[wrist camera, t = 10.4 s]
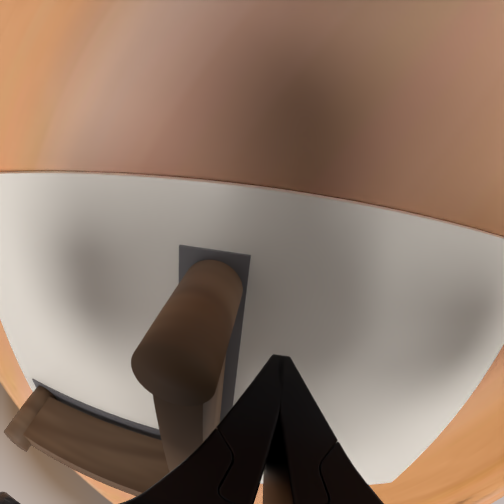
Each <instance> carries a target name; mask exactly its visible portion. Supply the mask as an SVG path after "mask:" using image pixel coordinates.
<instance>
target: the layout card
mask: <svg viewBox="0 0 504 504" xmlns="http://www.w3.org/2000/svg"><path fill="white" fill-rule="evenodd" d="M203 260H217V261H220V262H223V263H225V264H227V265H229V266H230V267H231V268H232V269H234V270H235V272H236V273H237V274H238V276H239V277H240V279H241V282H242V287H243V293H242V297H241V301H240V304H239V308H238V312H237V315H236V319H235V323H234V326H233V330H232V334H231V337H230V341H229V344H228V348H227V352H226V360H225V371H224V381H223V392H222V403H221V414H220V422H221V421H222V419H223V418H224V417H225V416H226V414H227V413H228V412H229V411H230V409H231V408H232V407H233V406H234V404H235V403H236V402H237V401H238V399H239V398H240V397H241V395H242V394H243V393H244V392H245V390H246V389H247V388H248V386H249V385H250V384H251V382H252V381H253V380H254V378H255V377H256V376H257V374H258V373H259V372H260V370H261V369H262V368H263V366H264V365H265V364H266V362H267V361H268V360H269V358H270V357H271V356H272V355H273V354H276V355H284V356H289V357H291V359H292V361H293V362H294V364H295V366H296V368H297V370H298V371H299V373H300V375H301V377H302V378H303V380H304V382H305V384H306V385H307V387H308V389H309V391H310V392H311V394H312V396H313V398H314V400H315V401H316V403H317V405H318V406H319V408H320V410H321V412H322V413H323V415H324V417H325V419H326V420H327V422H328V424H329V426H330V427H331V429H332V431H333V433H334V434H335V436H336V438H337V439H338V441H337V442H339V443H340V444H341V446H342V448H343V450H344V451H345V453H346V454H347V456H348V458H349V459H350V461H351V462H352V464H353V465H354V467H355V468H356V470H357V471H358V472H359V474H360V475H361V476H362V478H363V479H364V480H365V481H366V483H367V484H368V485H372V484H382V483H390V482H392V481H393V480H395V479H396V478H397V477H398V476H399V475H400V474H401V473H402V472H403V471H404V470H406V469H407V468H408V467H409V466H410V465H411V464H412V463H413V462H414V461H415V460H416V459H417V458H418V457H419V456H420V455H421V454H422V453H423V452H424V451H425V450H426V449H427V448H428V446H429V445H430V444H431V443H432V442H433V441H434V440H435V439H436V438H437V437H438V436H439V434H440V433H441V432H442V431H443V430H444V429H445V427H446V426H447V425H448V424H449V423H450V422H451V420H452V419H453V418H454V417H455V415H456V414H457V413H458V412H459V410H460V409H461V408H462V406H463V405H464V404H465V403H466V401H467V400H468V398H469V397H470V396H471V394H472V393H473V392H474V390H475V389H476V387H477V386H478V384H479V383H480V382H481V380H482V379H483V377H484V376H485V374H486V372H487V371H488V369H489V368H490V366H491V365H492V363H493V361H494V360H495V358H496V356H497V355H498V353H499V351H500V350H501V348H502V346H503V344H504V237H503V236H500V235H496V234H493V233H489V232H486V231H482V230H479V229H475V228H471V227H468V226H464V225H460V224H456V223H452V222H448V221H444V220H440V219H436V218H432V217H427V216H423V215H419V214H414V213H410V212H405V211H401V210H396V209H392V208H387V207H382V206H377V205H372V204H367V203H362V202H356V201H351V200H346V199H340V198H334V197H329V196H323V195H317V194H310V193H304V192H298V191H291V190H284V189H277V188H270V187H263V186H255V185H247V184H239V183H231V182H222V181H213V180H203V179H193V178H182V177H170V176H157V175H143V174H126V173H106V172H74V171H17V172H0V319H1V322H2V325H3V327H4V330H5V333H6V335H7V338H8V340H9V343H10V345H11V347H12V350H13V352H14V354H15V357H16V359H17V361H18V363H19V365H20V367H21V370H22V372H23V374H24V376H25V378H26V380H27V382H28V384H29V386H30V387H31V389H32V391H33V392H34V390H35V389H36V388H37V387H38V386H42V387H44V388H46V389H47V390H49V391H50V392H51V393H52V394H53V395H54V396H55V398H56V399H57V400H58V401H60V402H62V403H64V404H66V405H68V406H70V407H72V408H75V409H77V410H79V411H81V412H84V413H86V414H88V415H91V416H93V417H95V418H98V419H100V420H103V421H105V422H108V423H111V424H113V425H116V426H119V427H121V428H124V429H127V430H130V431H133V432H136V433H139V434H142V435H145V436H149V437H152V438H155V439H159V440H161V436H160V431H159V426H158V421H157V416H156V411H155V406H154V400H153V394H151V393H150V392H149V391H147V390H146V389H145V388H144V387H143V386H142V385H141V384H140V383H139V381H138V380H137V379H136V377H135V375H134V373H133V371H132V368H131V358H132V355H133V353H134V351H135V350H136V348H137V347H138V345H139V344H140V342H141V340H142V339H143V337H144V336H145V334H146V333H147V331H148V330H149V328H150V326H151V325H152V323H153V322H154V320H155V319H156V317H157V316H158V314H159V313H160V311H161V310H162V308H163V307H164V305H165V304H166V302H167V301H168V299H169V298H170V296H171V295H172V293H173V292H174V290H175V289H176V287H177V286H178V284H179V283H180V281H181V280H182V278H183V277H184V275H185V274H186V272H187V271H188V270H189V268H190V267H191V266H192V265H194V264H195V263H197V262H199V261H203ZM260 483H261V484H263V475H262V478H261V482H260Z"/></svg>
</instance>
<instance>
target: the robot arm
mask: <svg viewBox="0 0 504 504" xmlns="http://www.w3.org/2000/svg"><path fill="white" fill-rule="evenodd" d="M337 441H338V439H337V438H336V436H335V434H334V433H333V431H332V429H331V427H330V426H329V424H328V422H327V420H326V419H325V417H324V415H323V413H322V412H321V410H320V408H319V406H318V405H317V403H316V401H315V400H314V398H313V396H312V394H311V392H310V391H309V389H308V387H307V385H306V384H305V382H304V380H303V378H302V377H301V375H300V373H299V371H298V370H297V368H296V366H295V364H294V362H293V361H292V359H291V357H289V356H284V355H276V354H273V355H272V356H271V357H270V358H269V360H268V361H267V362H266V364H265V365H264V366H263V368H262V369H261V370H260V372H259V373H258V374H257V376H256V377H255V378H254V380H253V381H252V382H251V384H250V385H249V386H248V388H247V389H246V390H245V392H244V393H243V394H242V395H241V397H240V398H239V399H238V401H237V402H236V403H235V404H234V406H233V407H232V408H231V409H230V411H229V412H228V413H227V414H226V416H225V417H224V418H223V419H222V421H221V422H220V423H219V424H218V426H217V427H216V428H215V429H214V430H213V431H212V433H211V434H210V435H209V436H208V437H207V438H206V440H205V441H204V442H203V443H202V444H201V445H200V446H199V447H198V448H197V449H196V450H195V451H194V452H193V453H192V454H191V455H190V456H189V457H188V458H186V459H185V460H184V461H183V462H182V463H181V464H180V465H178V466H177V467H176V468H175V469H173V470H172V471H171V472H170V473H168V474H167V475H166V476H165V477H163V478H162V479H161V480H159V481H158V482H157V483H155V484H154V485H153V486H152V487H150V488H149V489H147V490H146V491H145V492H143V493H141V494H140V495H138V496H136V497H135V498H133V499H131V500H128V501H126V502H123V503H120V504H254V501H255V498H256V494H257V491H258V488H259V485H260V482H261V478H262V475H263V504H384V503H383V502H382V501H381V500H380V499H379V497H378V496H377V495H376V494H375V492H374V491H373V490H372V489H371V488H370V486H369V485H368V484H367V483H366V481H365V480H364V479H363V478H362V476H361V475H360V474H359V472H358V471H357V470H356V468H355V467H354V465H353V464H352V462H351V461H350V459H349V458H348V456H347V454H346V453H345V451H344V450H343V448H342V446H341V444H340V443H339V442H337ZM0 504H20V503H19V502H17V501H16V500H15V499H13V498H12V497H11V496H10V495H8V494H7V493H5V492H0Z"/></svg>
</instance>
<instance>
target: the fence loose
mask: <svg viewBox="0 0 504 504" xmlns="http://www.w3.org/2000/svg"><path fill="white" fill-rule="evenodd" d="M242 293H243V287H242V282H241V279H240V277H239V276H238V274H237V273H236V272H235V270H234V269H232V268H231V267H230V266H229V265H227V264H225V263H223V262H220V261H217V260H203V261H199V262H197V263H195V264H194V265H192V266H191V267H190V268H189V270H188V271H187V272H186V274H185V275H184V277H183V278H182V280H181V281H180V283H179V284H178V286H177V287H176V289H175V290H174V292H173V293H172V295H171V296H170V298H169V299H168V301H167V302H166V304H165V305H164V307H163V308H162V310H161V311H160V313H159V314H158V316H157V317H156V319H155V320H154V322H153V323H152V325H151V326H150V328H149V330H148V331H147V333H146V334H145V336H144V337H143V339H142V340H141V342H140V344H139V345H138V347H137V348H136V350H135V351H134V353H133V355H132V358H131V368H132V371H133V373H134V375H135V377H136V379H137V380H138V381H139V383H140V384H141V385H142V386H143V387H144V388H145V389H146V390H147V391H149V392H150V393H151V394H153V400H154V406H155V411H156V416H157V421H158V426H159V431H160V436H161V440H162V444H163V449H164V453H165V457H166V461H167V465H168V469H169V473H170V472H171V471H172V470H173V469H175V468H176V467H177V466H178V465H180V464H181V463H182V462H183V461H184V460H185V459H186V458H188V457H189V456H190V455H191V454H192V453H193V452H194V451H195V450H196V449H197V448H198V447H199V446H200V445H201V444H202V443H203V442H204V441H205V440H206V438H207V437H208V436H209V435H210V434H211V433H212V431H213V430H214V429H215V428H216V427H217V426H218V424H219V423H220V414H221V403H222V392H223V381H224V371H225V360H226V352H227V348H228V344H229V341H230V337H231V334H232V330H233V326H234V323H235V319H236V315H237V312H238V308H239V304H240V301H241V297H242Z"/></svg>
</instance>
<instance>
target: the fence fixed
mask: <svg viewBox="0 0 504 504" xmlns="http://www.w3.org/2000/svg"><path fill="white" fill-rule="evenodd" d="M4 433H5V434H6V435H7V437H9V439H10V440H11V441H12V442H13V443H15V444H16V445H17V446H18V447H20V448H21V449H23V450H24V451H27V450H28V449H29V447H30V446H31V445H32V446H33V447H35V448H36V449H38V450H40V451H42V452H43V453H45V454H47V455H48V456H50V457H52V458H54V459H55V460H57V461H59V462H60V463H62V464H64V465H66V466H68V467H70V468H72V469H74V470H76V471H78V472H80V473H82V474H84V475H86V476H88V477H90V478H93V479H95V480H97V481H99V482H102V483H104V484H106V485H109V486H111V487H114V488H116V489H119V490H121V491H124V492H126V493H129V494H132V495H135V496H138V495H140V494H141V493H143V492H145V491H146V490H147V489H149V488H150V487H152V486H153V485H154V484H155V483H157V482H158V481H159V480H161V479H162V478H163V477H165V476H166V475H167V474H168V473H169V469H168V465H167V461H166V457H165V453H164V449H163V444H162V440H159V439H155V438H152V437H149V436H145V435H142V434H139V433H136V432H133V431H130V430H127V429H124V428H121V427H119V426H116V425H113V424H111V423H108V422H105V421H103V420H100V419H98V418H95V417H93V416H91V415H88V414H86V413H84V412H81V411H79V410H77V409H75V408H72V407H70V406H68V405H66V404H64V403H62V402H60V401H58V400H57V399H56V398H55V396H54V395H53V394H52V393H51V392H50V391H49V390H47V389H46V388H44V387H42V386H38V387H37V388H36V389H35V390H34V392H33V393H32V394H31V396H30V397H29V398H28V399H27V401H26V402H25V403H24V405H23V406H22V407H21V409H20V410H19V411H18V413H17V414H16V415H15V417H14V418H13V420H12V421H11V422H10V424H9V425H8V426H7V428H6V429H5V431H4Z"/></svg>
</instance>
